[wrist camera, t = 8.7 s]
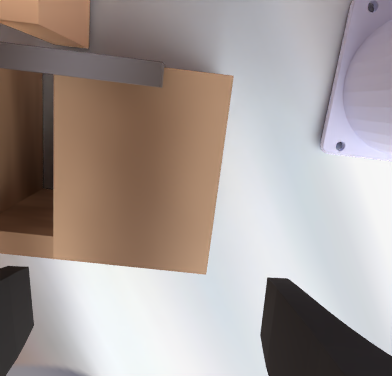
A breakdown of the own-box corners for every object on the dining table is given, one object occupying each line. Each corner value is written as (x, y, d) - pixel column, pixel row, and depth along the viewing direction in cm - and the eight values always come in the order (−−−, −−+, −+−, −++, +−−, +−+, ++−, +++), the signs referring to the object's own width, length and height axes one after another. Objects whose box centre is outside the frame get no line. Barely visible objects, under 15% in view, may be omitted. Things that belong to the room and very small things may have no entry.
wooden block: (220, 82, 18) (236, 71, 11) (202, 221, 20) (206, 283, 13) (-81, 45, 17) (-258, 10, 10) (-66, 192, 19) (-206, 241, 12)
